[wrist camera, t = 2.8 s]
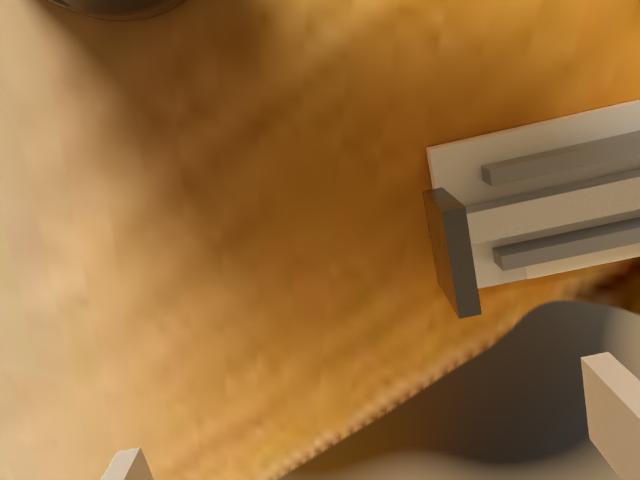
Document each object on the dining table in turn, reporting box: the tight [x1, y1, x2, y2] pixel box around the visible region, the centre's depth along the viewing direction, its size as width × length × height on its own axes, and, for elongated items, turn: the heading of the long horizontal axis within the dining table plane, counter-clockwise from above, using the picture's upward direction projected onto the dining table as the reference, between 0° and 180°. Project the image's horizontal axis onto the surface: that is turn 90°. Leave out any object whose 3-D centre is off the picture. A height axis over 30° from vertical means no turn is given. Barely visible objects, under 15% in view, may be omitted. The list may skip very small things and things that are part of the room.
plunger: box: [422, 168, 640, 319], centre depth 29 cm, size 16×8×7 cm, turn 103°
